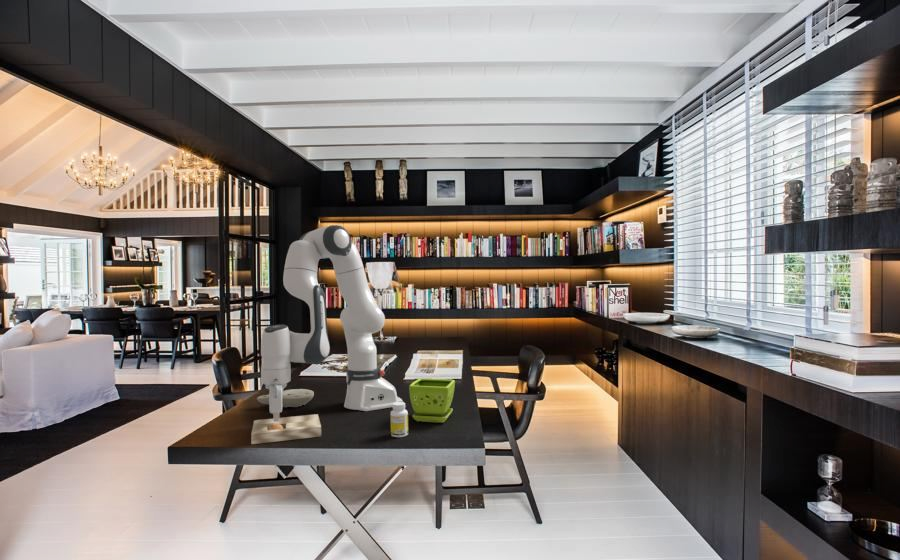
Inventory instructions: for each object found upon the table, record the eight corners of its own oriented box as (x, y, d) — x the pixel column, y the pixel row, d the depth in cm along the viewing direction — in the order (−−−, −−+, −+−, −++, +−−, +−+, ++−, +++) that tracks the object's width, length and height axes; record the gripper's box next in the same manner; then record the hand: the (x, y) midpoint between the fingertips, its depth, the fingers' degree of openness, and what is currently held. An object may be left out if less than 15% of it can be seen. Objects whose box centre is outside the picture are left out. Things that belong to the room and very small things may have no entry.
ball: (283, 435, 145) (283, 437, 149) (283, 422, 147) (283, 424, 150) (269, 437, 144) (269, 438, 147) (269, 423, 145) (269, 425, 149)
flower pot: (448, 425, 157) (448, 387, 157) (407, 423, 160) (407, 385, 160) (456, 414, 171) (456, 378, 171) (418, 412, 173) (418, 377, 173)
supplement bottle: (399, 431, 152) (399, 400, 152) (411, 434, 148) (411, 402, 148) (387, 435, 147) (386, 403, 147) (399, 438, 144) (399, 406, 144)
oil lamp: (256, 414, 173) (256, 400, 173) (256, 404, 187) (256, 392, 187) (315, 408, 181) (315, 394, 181) (312, 399, 195) (311, 387, 195)
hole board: (317, 422, 161) (317, 414, 161) (321, 436, 147) (321, 426, 147) (254, 429, 155) (254, 420, 155) (251, 444, 141) (251, 434, 141)
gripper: (286, 382, 142) (287, 428, 142) (286, 370, 161) (286, 411, 161) (264, 383, 140) (264, 430, 140) (266, 371, 159) (266, 413, 159)
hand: (276, 420), depth 151 cm, fingers closed
